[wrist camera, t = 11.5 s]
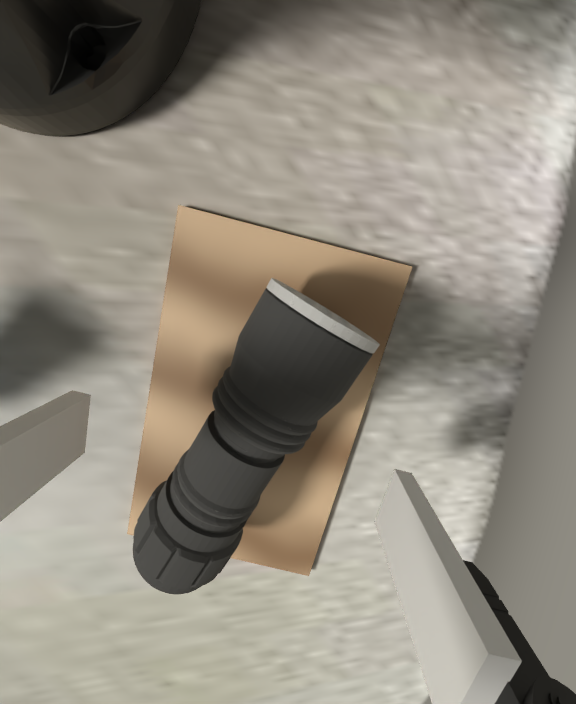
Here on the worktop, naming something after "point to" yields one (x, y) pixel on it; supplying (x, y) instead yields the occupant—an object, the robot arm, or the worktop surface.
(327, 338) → the flashlight
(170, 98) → the worktop surface
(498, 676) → the robot arm
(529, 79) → the worktop surface
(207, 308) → the mat
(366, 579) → the worktop surface
